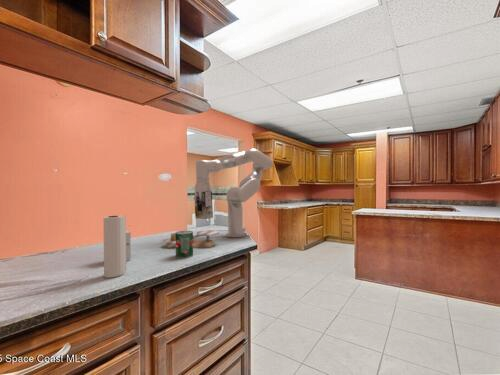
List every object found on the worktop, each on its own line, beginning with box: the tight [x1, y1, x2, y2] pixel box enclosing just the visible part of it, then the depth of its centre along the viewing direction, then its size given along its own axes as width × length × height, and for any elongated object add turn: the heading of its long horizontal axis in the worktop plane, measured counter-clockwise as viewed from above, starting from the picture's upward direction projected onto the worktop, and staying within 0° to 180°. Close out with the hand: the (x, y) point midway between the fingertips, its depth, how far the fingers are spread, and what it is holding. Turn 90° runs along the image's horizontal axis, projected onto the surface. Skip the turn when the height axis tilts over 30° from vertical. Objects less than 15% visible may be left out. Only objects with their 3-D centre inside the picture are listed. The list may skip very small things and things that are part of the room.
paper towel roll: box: [103, 215, 127, 279], centre depth 89 cm, size 7×6×21 cm
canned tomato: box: [175, 230, 194, 259], centre depth 113 cm, size 8×8×11 cm
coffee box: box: [193, 191, 214, 220], centre depth 148 cm, size 9×6×16 cm
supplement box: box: [126, 230, 132, 262], centre depth 107 cm, size 7×7×13 cm
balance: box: [162, 229, 220, 249], centre depth 134 cm, size 30×12×7 cm, turn 94°
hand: (203, 210), depth 148 cm, fingers closed on coffee box, 6 cm apart
